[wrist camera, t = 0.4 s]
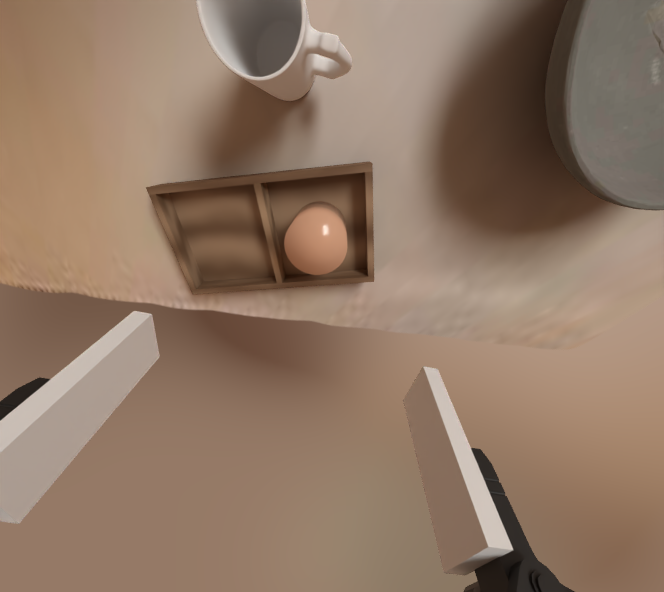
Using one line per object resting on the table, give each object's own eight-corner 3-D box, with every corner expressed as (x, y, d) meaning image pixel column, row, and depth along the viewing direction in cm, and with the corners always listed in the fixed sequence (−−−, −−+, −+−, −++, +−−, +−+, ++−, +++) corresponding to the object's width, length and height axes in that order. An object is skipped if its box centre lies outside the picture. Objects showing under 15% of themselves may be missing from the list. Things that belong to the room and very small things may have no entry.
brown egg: (290, 203, 33) (278, 217, 27) (344, 198, 32) (345, 211, 26) (299, 254, 36) (290, 276, 30) (348, 251, 36) (349, 272, 30)
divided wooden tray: (162, 184, 32) (145, 187, 30) (369, 161, 30) (372, 163, 28) (202, 284, 40) (192, 294, 37) (371, 271, 38) (374, 281, 35)
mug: (251, 93, 27) (196, 63, 17) (257, 6, 24) (193, -98, 14) (340, 121, 28) (340, 108, 18) (358, 41, 25) (370, -31, 15)
